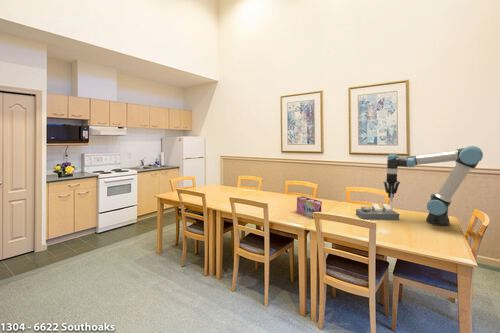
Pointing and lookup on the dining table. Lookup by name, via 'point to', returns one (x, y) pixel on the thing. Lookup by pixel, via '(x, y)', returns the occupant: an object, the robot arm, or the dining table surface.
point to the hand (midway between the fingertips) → (390, 201)
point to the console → (376, 214)
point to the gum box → (308, 206)
